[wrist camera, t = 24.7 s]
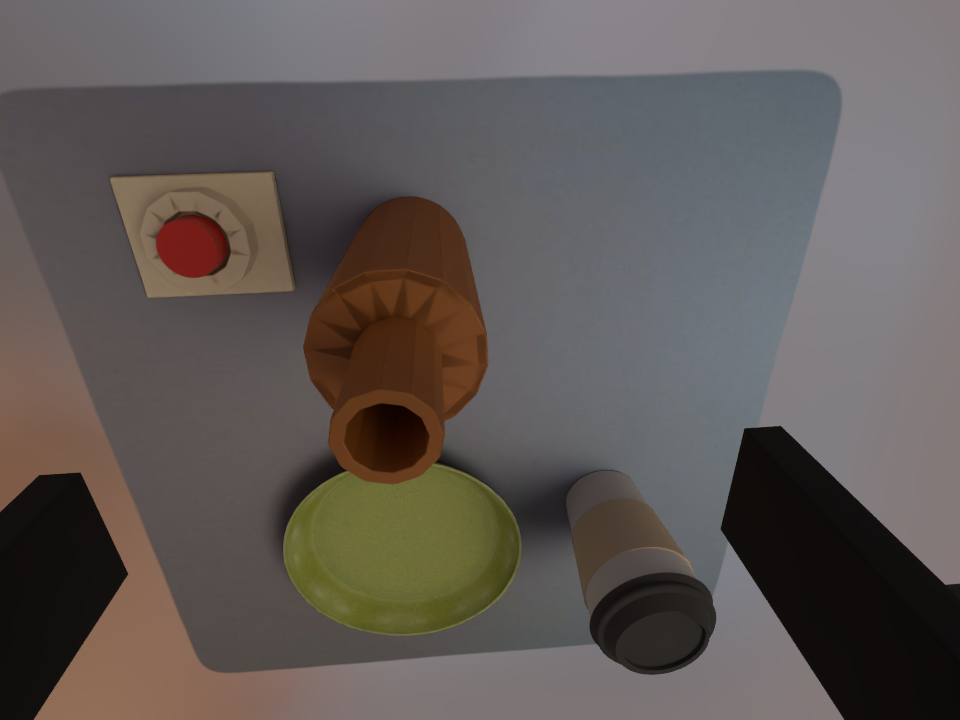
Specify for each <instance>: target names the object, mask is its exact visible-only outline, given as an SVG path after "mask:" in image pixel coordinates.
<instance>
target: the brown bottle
mask: <svg viewBox="0 0 960 720" xmlns="http://www.w3.org/2000/svg"><path fill="white" fill-rule="evenodd" d="M303 348H304V354H305V358H306V362H307V367H308V371H309V375H310V379H311V381H312V383H313V384H314V385H315V387H316V388H317V389H318V391H319V392H320V394H321V395H322V396H323V398H324V399H325V400H326V402H327V403H328V404H329V406H330V407H331V408H333V409H334V411H333V414H332V417H331V420H330V430H329V441H328V443H329V447H330V449H331V450H332V452H333V454H334V455H335V457H336V459H337V461H338V462H339V464H340V466H341V467H342V468H343V469H345V470H347V471H348V472H350V473H352V474H354V475H355V476H357V477H359V478H360V479H362V480H364V481H366V482H373V483H383V484H392V485H393V484H398V483H401V482H404V481H408V480H411V479H414V478H417V477H420V476H421V475H423V474H424V473H425V472H426V471H427V470H428V469H429V468H430V467H431V466H432V465H433V464H434V463H435V462H436V461H437V460H438V459H439V457H440V454H441V450H442V445H443V440H444V436H445V430H444V421H446V420H448V419H450V418H452V417H454V416H455V415H456V414H457V413H458V412H459V411H460V410H461V409H462V408H463V407H464V406H465V405H466V404H467V403H468V402H469V401H470V400H471V399H472V398H473V397H474V396H475V395H476V393H477V392H478V390H479V387H480V384H481V382H482V379H483V377H484V374H485V372H486V369H487V367H488V349H487V333H486V329H485V325H484V320H483V316H482V312H481V307H480V303H479V298H478V294H477V290H476V285H475V281H474V277H473V272H472V268H471V264H470V259H469V255H468V251H467V246H466V242H465V238H464V236H463V234H462V232H461V230H460V227H459V226H458V224H457V222H456V220H455V219H454V218H453V217H452V216H451V215H450V214H449V213H448V212H447V211H446V210H445V209H444V208H442V207H441V206H439V205H438V204H436V203H434V202H432V201H429V200H427V199H423V198H418V197H401V198H396V199H393V200H390V201H388V202H385V203H383V204H382V205H380V206H379V207H377V208H376V209H374V210H373V211H372V213H371V214H370V215H369V216H368V217H367V219H366V220H365V222H364V223H363V224H362V225H361V227H360V229H359V230H358V232H357V234H356V236H355V238H354V239H353V241H352V243H351V245H350V246H349V248H348V250H347V252H346V254H345V255H344V257H343V259H342V261H341V262H340V264H339V266H338V268H337V270H336V271H335V273H334V275H333V277H332V278H331V280H330V282H329V284H328V286H327V287H326V289H325V291H324V293H323V294H322V296H321V298H320V300H319V302H318V303H317V305H316V307H315V309H314V310H313V312H312V314H311V316H310V320H309V324H308V329H307V333H306V338H305V342H304V346H303Z"/></svg>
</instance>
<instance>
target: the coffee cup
mask: <svg viewBox="0 0 960 720" xmlns="http://www.w3.org/2000/svg"><path fill="white" fill-rule="evenodd" d="M566 508H567V513H568V517H569V522H570V526H571V531H572V543H573V548H574V552H575V557H576V562H577V567H578V572H579V577H580V582H581V587H582V592H583V597H584V602H585V605H586V607H587V609H588V610H589V614H590V618H591V619H590V633H591V636H592V638H593V640H594V641H595V642H596V644H597V645H598V646H599V647H600V649H601V650H602V651H603V653H604V654H605V655H606V656H607V657H609V658H610V659H612V660H613V661H615V662H617V663H619V664H622V665H623V666H624V667H626V668H627V669H629V670H631V671H633V672H636V673H641V674H650V675H654V674H663V673H669V672H672V671H675V670H678V669H681V668H683V667H685V666H687V665H688V664H690V663H692V662H693V661H694V660H696V659H697V658H698V657H699V656H700V655H701V654H702V653H703V652H704V650H705V649H706V647H707V645H708V642H709V638H710V636H711V635H712V633H713V631H714V628H715V624H716V612H715V609H714V606H713V599H712V596H711V593H710V591H709V590H708V588H707V587H706V586H705V585H704V584H703V583H702V582H700V581H699V580H698V578H697V577H696V575H695V574H694V571H693V568H692V566H691V564H690V562H689V561H688V560H687V558H686V557H685V555H684V554H683V552H682V551H681V549H680V548H679V547H678V545H677V544H676V542H675V541H674V539H673V538H672V536H671V535H670V534H669V532H668V531H667V529H666V528H665V526H664V525H663V523H662V522H661V521H660V519H659V518H658V516H657V515H656V513H655V512H654V511H653V509H652V508H651V507H649V505H648V504H647V502H646V501H645V499H644V498H643V496H642V495H641V493H640V492H639V490H638V489H637V487H636V486H635V484H634V483H633V481H632V480H631V479H630V478H629V477H627V476H626V475H624V474H622V473H620V472H616V471H609V470H605V471H597V472H593V473H590V474H588V475H586V476H584V477H582V478H581V479H579V480H578V481H577V482H576V483H575V484H574V485H573V486H572V487H571V489H570V490H569V492H568V494H567V498H566Z"/></svg>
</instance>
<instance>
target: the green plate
mask: <svg viewBox="0 0 960 720" xmlns="http://www.w3.org/2000/svg"><path fill="white" fill-rule="evenodd" d="M521 552H522V541H521V534H520V530H519V527H518V524H517V522H516V519H515V517H514V515H513V513H512V512H511V510H510V509H509V507H508V506H507V504H506V503H505V502H504V501H503V500H502V498H501V497H500V496H499V495H498V494H497V493H495V492H494V491H493V490H492V489H491V488H489V487H488V486H487V485H486V484H484V483H483V482H481V481H480V480H478V479H477V478H475V477H473V476H472V475H470V474H468V473H466V472H464V471H461V470H459V469H457V468H454V467H451V466H448V465H445V464H441V463H438V462H435V463H434V464H433V465H432V466H431V467H430V468H429V469H428V470H427V471H426V472H425V473H424V474H423V475H421V476H420V477H417V478H414V479H411V480H408V481H404V482H401V483H398V484H393V485H392V484H383V483H373V482H366V481H364V480H362V479H360V478H359V477H357V476H355V475H354V474H352V473H350V472H348V471H347V470H346V471H344V472H342V473H340V474H338V475H336V476H334V477H332V478H330V479H329V480H327V481H325V482H324V483H322V484H321V485H320V486H318V487H317V488H316V489H314V490H313V491H312V492H311V493H310V494H309V495H307V496H306V498H305V499H304V500H303V501H302V502H301V503H300V504H299V506H298V507H297V508H296V510H295V511H294V513H293V515H292V516H291V518H290V520H289V523H288V525H287V528H286V532H285V536H284V543H283V556H284V562H285V566H286V569H287V572H288V575H289V577H290V579H291V581H292V582H293V584H294V586H295V587H296V589H297V590H298V592H299V593H300V594H301V595H302V596H303V597H304V598H305V600H306V601H308V602H309V603H310V604H311V605H312V606H313V607H314V608H316V609H317V610H318V611H319V612H321V613H322V614H324V615H325V616H327V617H329V618H331V619H333V620H335V621H337V622H339V623H341V624H344V625H346V626H349V627H351V628H355V629H358V630H362V631H366V632H371V633H377V634H385V635H417V634H426V633H432V632H436V631H440V630H444V629H448V628H451V627H454V626H456V625H459V624H461V623H463V622H466V621H468V620H470V619H471V618H473V617H475V616H477V615H479V614H480V613H482V612H483V611H485V610H486V609H488V608H489V607H490V606H491V605H492V604H494V603H495V602H496V601H497V600H498V599H499V598H500V597H501V596H502V595H503V593H504V592H505V591H506V590H507V588H508V587H509V585H510V584H511V582H512V581H513V579H514V577H515V575H516V572H517V570H518V567H519V564H520V559H521Z"/></svg>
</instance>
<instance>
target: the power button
mask: <svg viewBox="0 0 960 720" xmlns="http://www.w3.org/2000/svg"><path fill="white" fill-rule="evenodd" d="M156 248H157V252H158V254H159V257H160V259H161V260H162V262H163V263H164V264H165V265H166V266H167V267H168V268H169V269H170V270H172V271H173V272H175V273H176V274H179V275H181V276H184V277H188V278H199V277H203V276H206V275H208V274H209V273H210V272H212V271H213V270H214V269H216V268H217V267H218V266H219V265H221V264H222V262H223V261H224V260H225V257H226V254H227V242H226V239H225V237H224V235H223V233H222V231H221V230H220V229H219V228H218V227H217V226H216V225H215V224H214V223H213V222H211V221H210V220H208V219H206V218H204V217H201V216H197V215H186V216H182V217H180V218H178V219H176V220H173V221H171V222H169V223H167V224H166V225H164V226H163V227H162V228H161V229H160V231H159V233H158V235H157V239H156Z"/></svg>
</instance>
